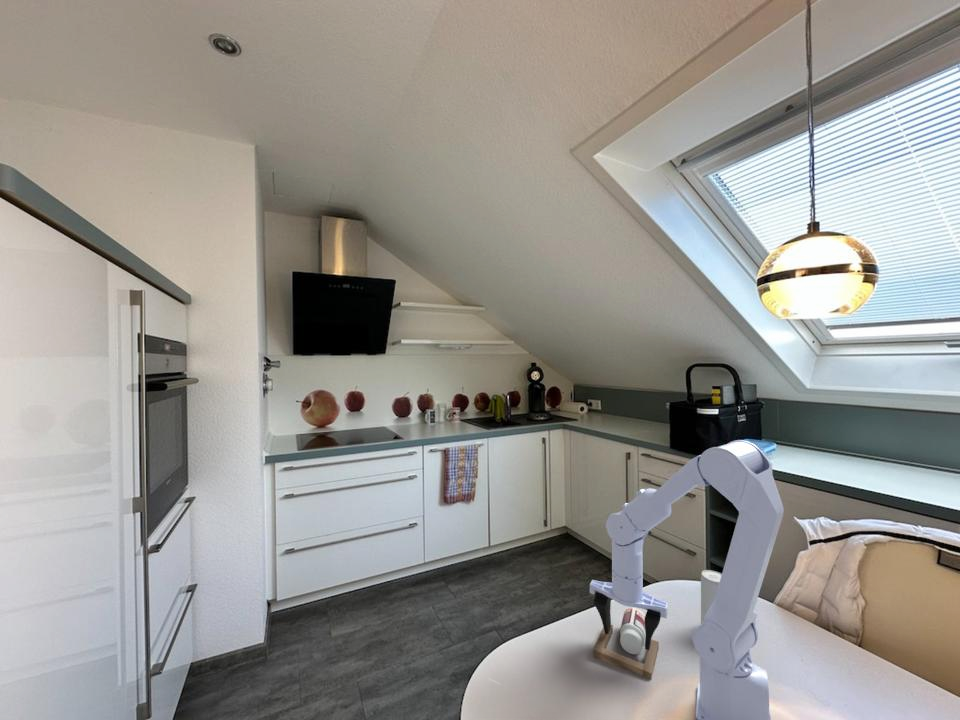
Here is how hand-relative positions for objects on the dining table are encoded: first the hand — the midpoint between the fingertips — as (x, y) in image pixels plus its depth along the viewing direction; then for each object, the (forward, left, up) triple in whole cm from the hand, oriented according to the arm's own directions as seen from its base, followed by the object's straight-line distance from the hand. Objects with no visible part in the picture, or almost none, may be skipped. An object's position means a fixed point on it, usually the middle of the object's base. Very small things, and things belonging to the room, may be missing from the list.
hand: (627, 638), depth 76 cm
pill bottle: (0, -8, 0) cm, 8 cm away
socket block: (0, 0, -2) cm, 2 cm away
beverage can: (-14, -16, -3) cm, 21 cm away
